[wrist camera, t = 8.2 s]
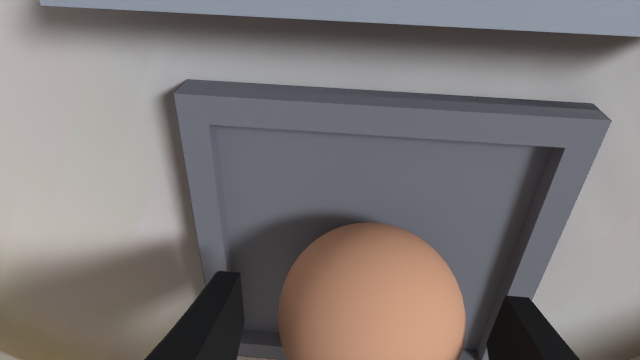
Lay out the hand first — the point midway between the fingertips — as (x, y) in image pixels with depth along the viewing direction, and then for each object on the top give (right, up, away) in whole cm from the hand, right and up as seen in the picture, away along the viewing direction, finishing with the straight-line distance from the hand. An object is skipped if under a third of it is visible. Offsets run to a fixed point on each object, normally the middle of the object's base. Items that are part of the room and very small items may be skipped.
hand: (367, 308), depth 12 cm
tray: (0, +2, +2) cm, 3 cm away
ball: (0, +1, +2) cm, 2 cm away
